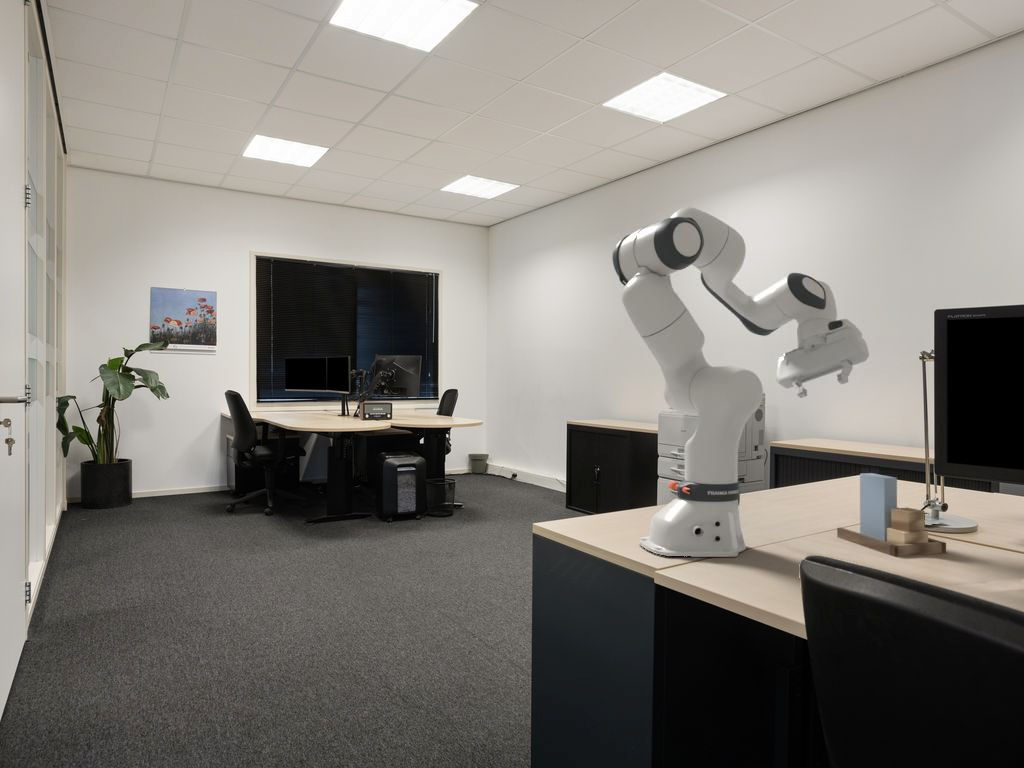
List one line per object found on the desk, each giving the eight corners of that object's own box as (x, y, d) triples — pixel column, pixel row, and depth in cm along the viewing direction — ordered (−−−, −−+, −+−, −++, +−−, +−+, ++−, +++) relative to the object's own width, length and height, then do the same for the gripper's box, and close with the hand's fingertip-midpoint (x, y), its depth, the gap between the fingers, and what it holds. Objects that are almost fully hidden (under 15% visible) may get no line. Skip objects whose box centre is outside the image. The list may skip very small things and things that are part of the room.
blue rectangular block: (884, 545, 133) (884, 478, 133) (860, 537, 140) (859, 473, 140) (897, 544, 134) (896, 477, 134) (872, 536, 141) (871, 473, 141)
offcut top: (908, 532, 128) (908, 512, 128) (891, 528, 131) (891, 509, 131) (924, 530, 129) (924, 510, 129) (906, 526, 133) (906, 507, 133)
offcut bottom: (904, 553, 127) (904, 533, 127) (887, 547, 132) (887, 528, 132) (928, 551, 128) (928, 531, 128) (910, 546, 133) (910, 526, 133)
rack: (893, 563, 125) (893, 546, 125) (837, 543, 141) (837, 527, 141) (946, 560, 127) (946, 542, 127) (884, 540, 143) (884, 525, 143)
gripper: (770, 350, 155) (771, 397, 148) (854, 316, 141) (860, 366, 133) (785, 363, 158) (787, 409, 150) (869, 330, 143) (875, 380, 136)
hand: (822, 389), depth 142 cm, fingers open, 8 cm apart
